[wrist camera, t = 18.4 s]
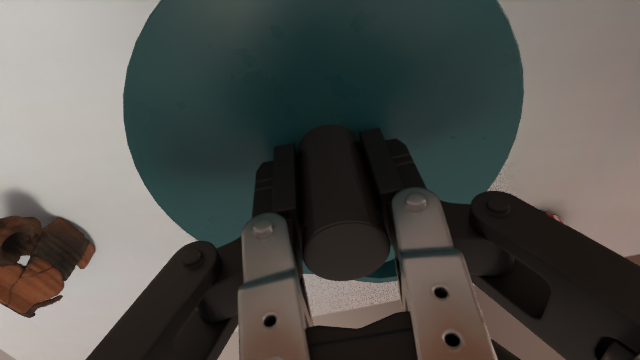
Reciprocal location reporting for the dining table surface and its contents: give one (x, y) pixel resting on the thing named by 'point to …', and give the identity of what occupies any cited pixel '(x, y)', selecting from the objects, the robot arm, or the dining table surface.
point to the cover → (318, 110)
